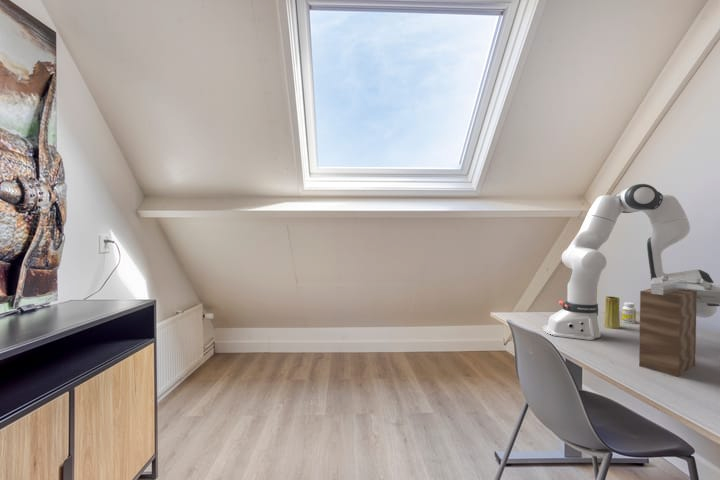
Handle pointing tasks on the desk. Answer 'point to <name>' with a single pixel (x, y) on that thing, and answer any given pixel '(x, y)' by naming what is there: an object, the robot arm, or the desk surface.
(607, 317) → the vase
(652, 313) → the pedestal
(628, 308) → the supplement bottle
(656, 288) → the block
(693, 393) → the desk surface
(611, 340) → the desk surface
